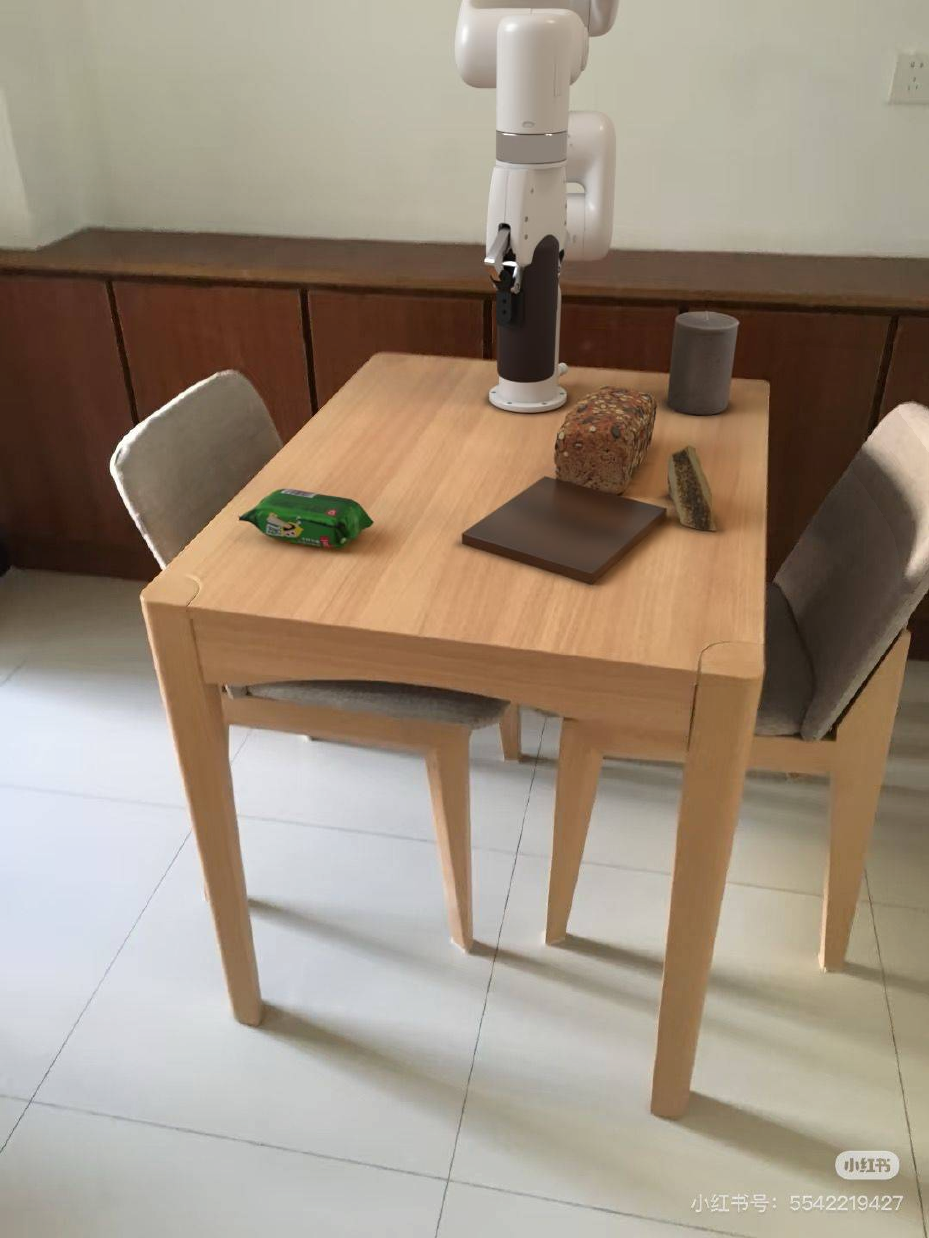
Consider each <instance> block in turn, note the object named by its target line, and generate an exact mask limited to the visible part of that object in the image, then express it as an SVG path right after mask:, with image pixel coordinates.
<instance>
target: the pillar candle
mask: <svg viewBox="0 0 929 1238" xmlns="http://www.w3.org/2000/svg"><path fill="white" fill-rule="evenodd" d="M674 320H675V321H674V327H673V328H674V330H673V336H672V337H673V338H672V347H671V358H670V364H669V365H670V366H669V376H668V377H669V378H668V386H667V387H668V388H667V389H668V391H667V400H666V405H667V406H668V407H669V408H671V409H672V410H673V411H676V412H678V413H681V414H687V415H694V416H708V415H715V414H719V413H722V412H725V410H726V409H727V408H728V405H729V395H730V389H731V384H732V383H731V382H732V376H733V367H734V361H735V360H734V359H735V351H736V343H737V337H738V330H739V329H738V328H739V325H740V321H739V320H738V319H737V318H735V317H734V316H731V315H728V314H724V313H720V312H715V311H708V310H705V311H690V312H689V311H688V312H683V313H681V314H678V315H677V316H675V319H674Z"/></svg>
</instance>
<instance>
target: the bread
mask: <svg viewBox="0 0 929 1238" xmlns="http://www.w3.org/2000/svg"><path fill="white" fill-rule="evenodd" d="M657 402H658V401H657V400H656V398H655V397H654V396H653V395H651V394H649V393H648V392H645V391H639V390H636V389H633V388H626V387H622V386H608V385H607V386H604V387H601V388H600V389H598V390H596V391H594V392H591V393H587V394H586V395H584V396H582V397H581V398H579V399H578V401H576V403H575V405H573V407H572V409H571V410H570V411H568V412H567V413H566V415H565V416H564V417H565V419H564V423H563V424H562V425H561V427H560V428H559V429H558V431H557V433H556V438H555V439H556V440H555V444H554V453H553V462H554V465H555V470H554V473H555V479H558V480H562V481H565V482H569V483H573V484H577V485H581V486H584V487H588V488H592V489H596V490H599V491H603V492H607V493H611V494H615V495H619V494H622V493H625V491H626V489H627V486H628V485H629V483H630V482H631V481H632V480H633V478H634V476H635V474H636V473H637V471H638V470H639V468H640V467H641V465H642V463H643V459H644V458H646V456H647V452H648V451H649V449H650V446H651V443H652V438H653V432H654V429H655V421H656V417H657V408H658V405H657Z"/></svg>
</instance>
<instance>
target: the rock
mask: <svg viewBox="0 0 929 1238" xmlns="http://www.w3.org/2000/svg"><path fill="white" fill-rule="evenodd" d="M698 455H699V454H697V450H696V447H694V446H692V445H691V444H687V445H686V446H685V447H683V448H682V449H680V450H678V451H675V452H672V453H669V457H668V458H669V459H668V461H667V485H668V493H669V496H670V498H671V499H672V501H673V504H674V506H675V508H676V513H677V515H678V518H679V521H680V524H682V525H683V526H686V527H689V528H693V529H696V530H700V531H711V532H717V530H718V528H717V526H715V516H714V513H713V503H712V502H713V494H712V490H711V488H710V486H709V483H708V480H707V479H708V478H707V476H706V475H705V472H704V471H703V468H702V463H701V460H700V457H699V456H698Z"/></svg>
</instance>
